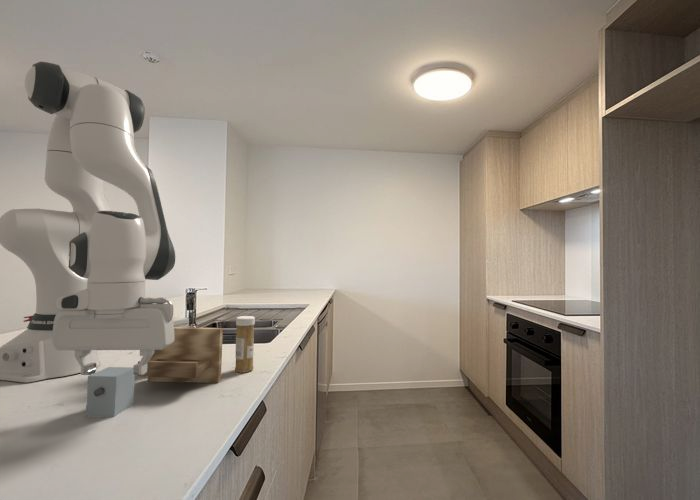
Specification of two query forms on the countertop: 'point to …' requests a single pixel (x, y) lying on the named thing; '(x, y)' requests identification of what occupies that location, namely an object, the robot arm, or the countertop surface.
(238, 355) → the sprinkles bottle
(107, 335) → the robot arm
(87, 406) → the cabinet box
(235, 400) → the countertop surface
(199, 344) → the wall board
